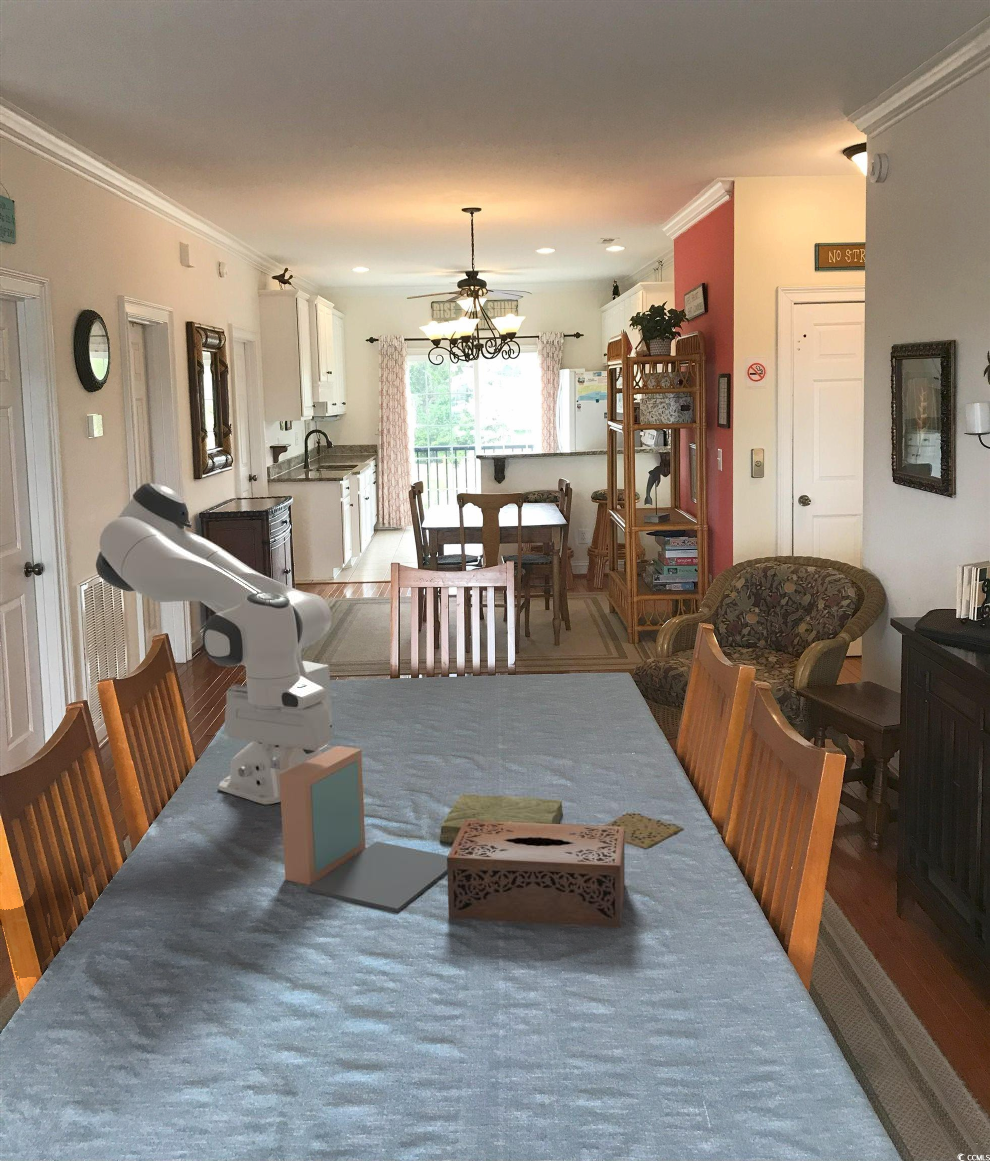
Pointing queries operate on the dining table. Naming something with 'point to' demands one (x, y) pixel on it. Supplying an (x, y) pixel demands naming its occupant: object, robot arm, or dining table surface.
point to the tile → (322, 814)
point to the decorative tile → (498, 812)
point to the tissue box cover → (537, 873)
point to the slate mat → (383, 876)
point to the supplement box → (321, 681)
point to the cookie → (644, 829)
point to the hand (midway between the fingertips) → (278, 768)
